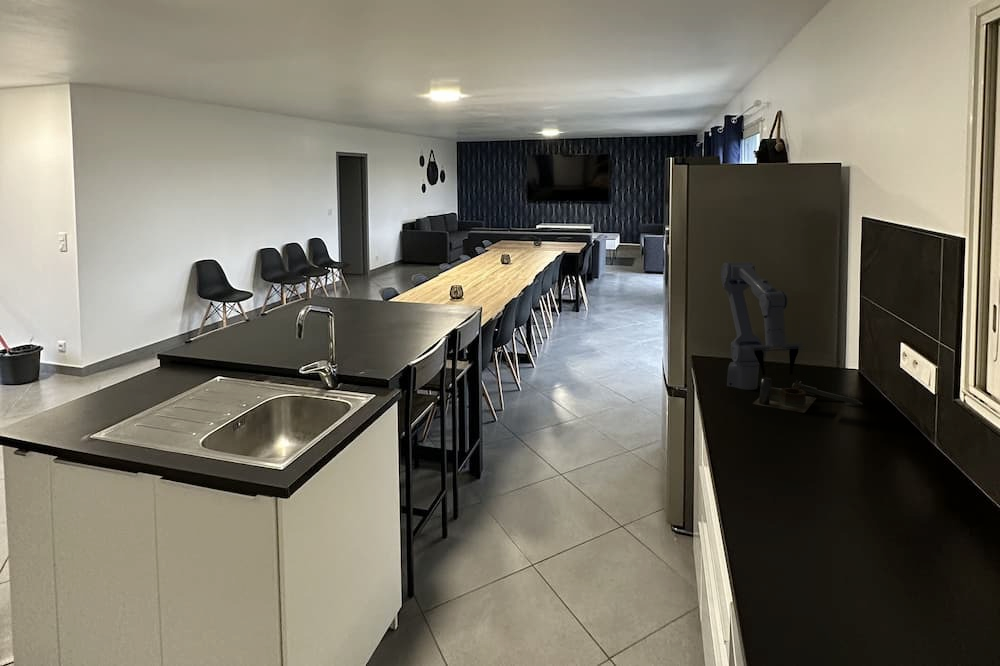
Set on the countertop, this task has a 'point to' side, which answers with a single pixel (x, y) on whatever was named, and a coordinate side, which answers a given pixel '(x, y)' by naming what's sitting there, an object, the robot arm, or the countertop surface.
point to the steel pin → (765, 391)
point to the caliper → (826, 394)
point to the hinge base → (789, 399)
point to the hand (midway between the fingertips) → (777, 374)
